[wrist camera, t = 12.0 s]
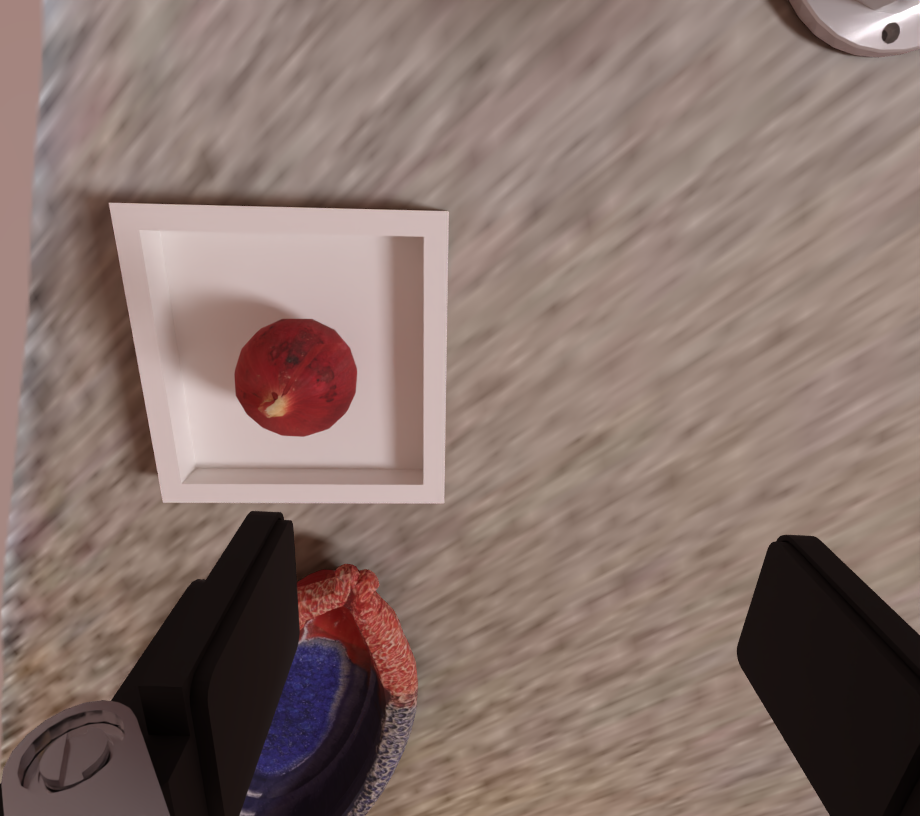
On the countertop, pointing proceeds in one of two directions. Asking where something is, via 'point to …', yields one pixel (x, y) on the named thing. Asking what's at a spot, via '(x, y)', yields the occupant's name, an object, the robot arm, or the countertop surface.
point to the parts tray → (289, 297)
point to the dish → (338, 703)
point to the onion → (295, 377)
